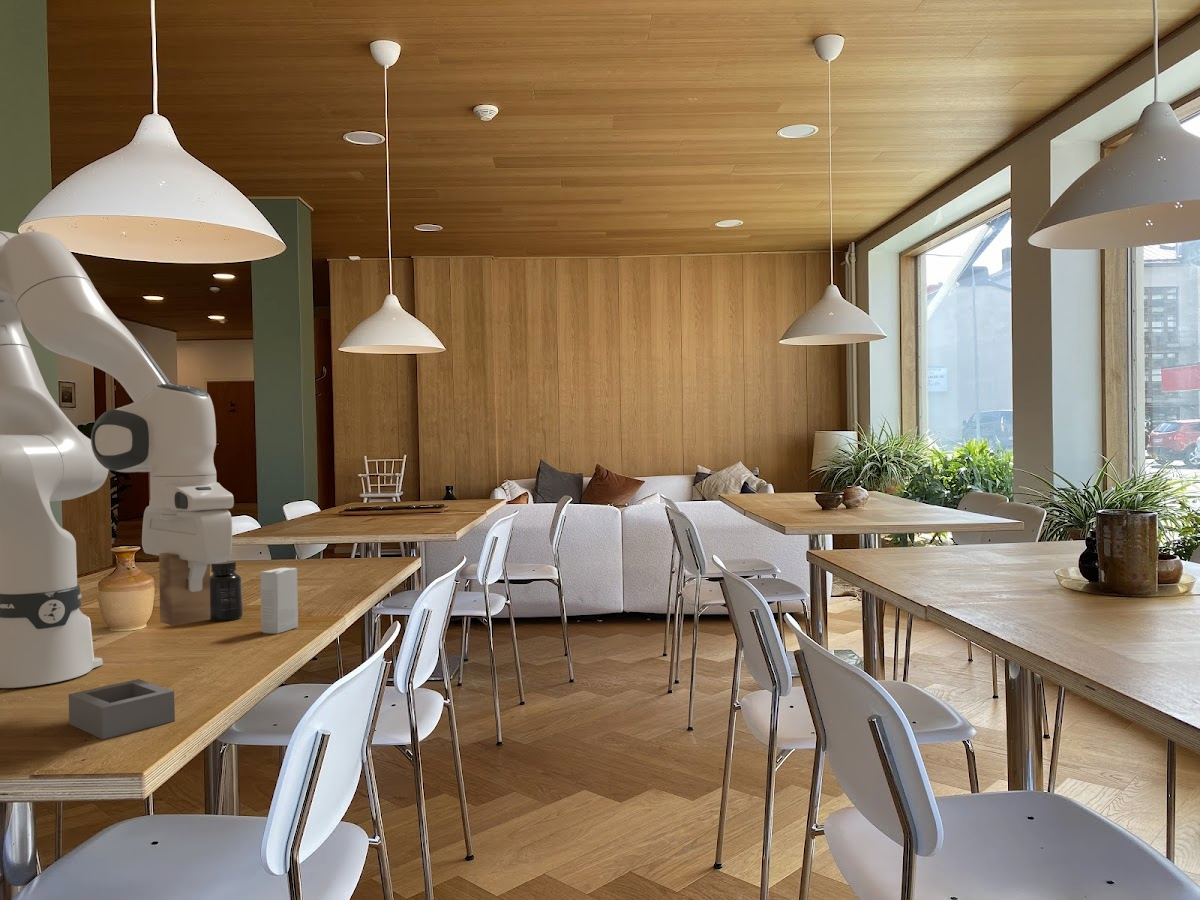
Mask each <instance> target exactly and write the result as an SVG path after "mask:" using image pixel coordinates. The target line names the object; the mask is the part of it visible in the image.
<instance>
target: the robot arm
mask: <svg viewBox="0 0 1200 900" xmlns="http://www.w3.org/2000/svg"><path fill="white" fill-rule="evenodd" d="M22 322H23V324H24V326H25V328H26V329H27V330H28V331H29V333H30V334H31V336H32V337H33V338H35V339H34V340H37V342H38V343H39V344H40V345H41V346H43V347H44V348H45V349H47V350H49V351H51V352H52V353H55V354H57V355H60V356H63V357H66V358H70V359H72V360H73V359H74V360H75V361H79V362H81V363H84V364H87V365H90V366H93V367H94V368H96V369H99V370H101V371H103V372H104V373H106V374H108V375H110V376H111V377H113V378H114V379H115V380H116V381H117V382H118V383H120V385H121V386H122V387H123V388H124V390H125V392H126V393H127V394H128V396H129V397H130V398H131V400H132V401H133V402H132V403H130V404H126V405H123V406H121V407H117V408H115V409H109V410H106V411H105V412H103V413H102V414H101V415H100V416H99V417H98V418H97V419H96V420H95V422H94V424H93V427H92V429H91V434H90V438H89V437H88V436H86V435H84V433H82V432H81V431H80V430H79V429H78V428H77V427H76V426H75V425H74V424H73V422H71V420H70V419H69V418H68V417H67V415H66V414H65V413H64V412H63V411H62V410H61V407H60V406H59V405H58V404H57V403H56V400H55V399H53V397H52V395H51V394H50V391H49V390H48V388H47V385H46V383H45V381H44V378H43V376H42V374H41V372H40V369H39V366H38V364H37V363H38V362H37V361H36V358H35V356H34V353H33V350H32V348H31V347H32V346H31V345H30V342H29V340H28V338H27V336H26V333H25V331H24V327H23V325H22ZM215 413H216V412H215V408H214V404H213V401H212V398H211V396H210V394H209V393H208V392H207V391H205V390H204V389H202V388H199V387H194V386H189V385H180V384H173V383H171V381H170V380H169V378H168V377H167V376H166V375H165V373H164V371H163V370H162V368H160V366H159V365H158V364H157V362H156V361H155V359H154V358H153V356H152V355H151V354H150V352H149V351H148V350H147V349H146V347H145V346H144V345H143V344H142V342H141V341H140V340H139V339H138V338H137V336H135V335H134V334H133V333H132V332H131V331H130V330H129V329H128V328H127V327H126V325H124V324H123V323H122V322H121V320H120V319H119V318H118V317H117V316H116V315H115V314H114V313H113V311H112V310H111V309H110V307H109V306H108V305H107V304H106V302H105V301H104V300H103V298H102V297H101V295H100V294H99V292H98V290H97V289H96V288H95V285H94V283H93V282H92V281H91V278H90V277H89V276H88V274H87V272H86V271H85V269H84V268H83V266H82V265H81V264H80V262H79V261H78V260H77V259H76V257H75V256H74V255H73V254H72V252H71V251H70V250H69V248H67V247H66V245H65V244H63V242H62V241H61V240H60V239H58V237H56V236H54V235H52V234H50V233H46V232H42V231H26V232H22V233H15V232H9V231H2V230H0V689H15V688H16V689H17V688H25V687H26V688H27V687H34V686H35V687H36V686H42V685H47V684H53V683H59V682H63V681H67V680H72V679H75V678H78V677H81V676H83V675H86V674H88V673H90V672H91V670H93V669H94V668H97V667H101V666H102V665H104V661H103V658H102V657H97V656H95V654H94V645H93V643H94V642H93V635H92V624H91V619H90V617H89V616H87V615H86V614H84V613H83V612H82V611H81V610H80V608H81V606H82V592H81V585H79V584H78V569H77V568H78V567H77V566H78V565H77V542H76V539H75V537H74V535H73V534H72V533H71V532H70V531H68V530H67V529H65V528H63V527H61V525H59V524H58V522H57V520H56V518H55V516H54V514H53V511H52V507H51V503H50V502H58V501H68V500H69V501H70V500H73V499H74V500H75V499H77V498H80V497H83V496H86V495H89V494H91V493H94V492H96V491H97V490H98V489H100V488H101V487H102V486H103V485H104V484H105V483H106V481H107V478H108V474H109V471H112V472H113V471H114V472H119V473H149V475H150V477H149V481H150V482H149V488H150V489H149V490H150V491H149V492H150V494H149V495H150V496H149V499H150V500H149V503H148V504H149V505H148V506H146V507H145V509H144V511H143V518H142V533H141V546H142V549H143V552H144V553H145V554H149V555H153V556H158V557H159V554H161V553H169V554H175V555H179V558H180V559H181V560H187V561H188V568H190V572H189V577H188V579H186V590H187V591H191V592H196V591H201V590H202V578H203V577H204V574H205V571H206V569H207V564H210V565H211V564H212V563H221V562H226V561H228V560H229V559H230V556H231V554H232V549H233V519H232V514H231V512H230V511H229V509H233V507H234V506H235V505H234V504H235V500H234V495H233V493H232V492H230V491H228V490H227V489H226V488H224V487H223V486H222V485H221V484H220V482H217V481H218V480H217V470H216V466H215V463H214V461H215V460H214V456H215V454H214V453H215V450H216V447H217V425H216V414H215Z"/></svg>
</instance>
